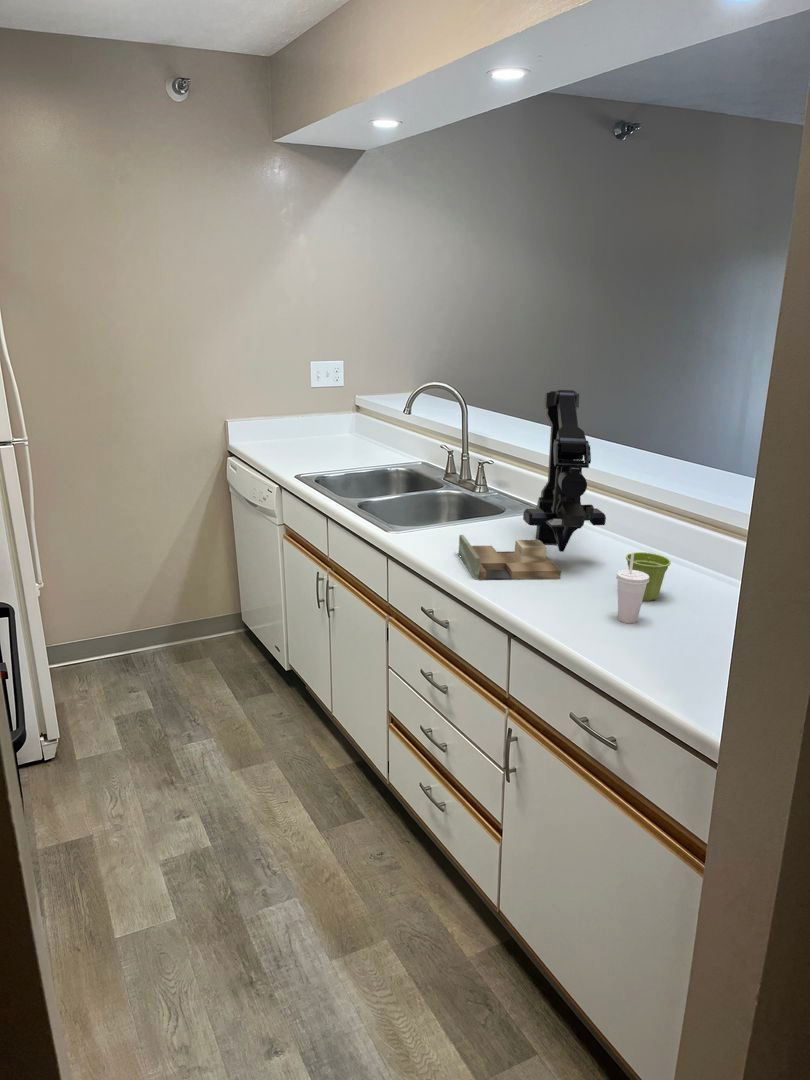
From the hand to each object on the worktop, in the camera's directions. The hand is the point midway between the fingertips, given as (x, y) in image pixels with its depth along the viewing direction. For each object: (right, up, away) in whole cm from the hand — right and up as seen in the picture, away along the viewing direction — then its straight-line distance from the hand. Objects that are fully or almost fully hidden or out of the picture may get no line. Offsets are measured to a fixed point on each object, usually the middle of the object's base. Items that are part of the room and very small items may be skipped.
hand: (561, 551), depth 195 cm
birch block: (-8, -1, -1) cm, 8 cm away
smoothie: (+7, -14, -32) cm, 35 cm away
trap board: (-13, -3, -1) cm, 13 cm away
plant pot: (+14, -10, -18) cm, 25 cm away
